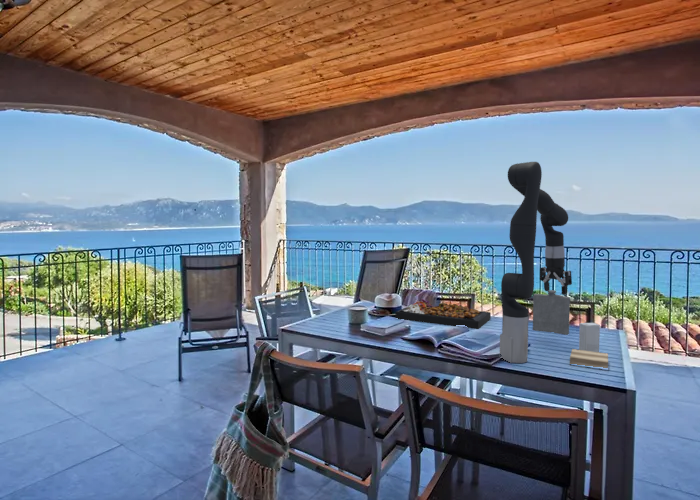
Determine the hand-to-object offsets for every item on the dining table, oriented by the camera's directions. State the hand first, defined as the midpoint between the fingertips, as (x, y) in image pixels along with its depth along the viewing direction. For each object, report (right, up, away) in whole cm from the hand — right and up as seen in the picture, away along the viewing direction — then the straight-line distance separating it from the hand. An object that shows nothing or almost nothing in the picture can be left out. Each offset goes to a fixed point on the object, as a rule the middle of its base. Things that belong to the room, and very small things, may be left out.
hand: (555, 292), depth 186 cm
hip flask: (+7, -21, +19) cm, 29 cm away
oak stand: (0, -24, -27) cm, 36 cm away
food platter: (-39, -20, +47) cm, 64 cm away
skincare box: (+6, -23, -15) cm, 28 cm away
